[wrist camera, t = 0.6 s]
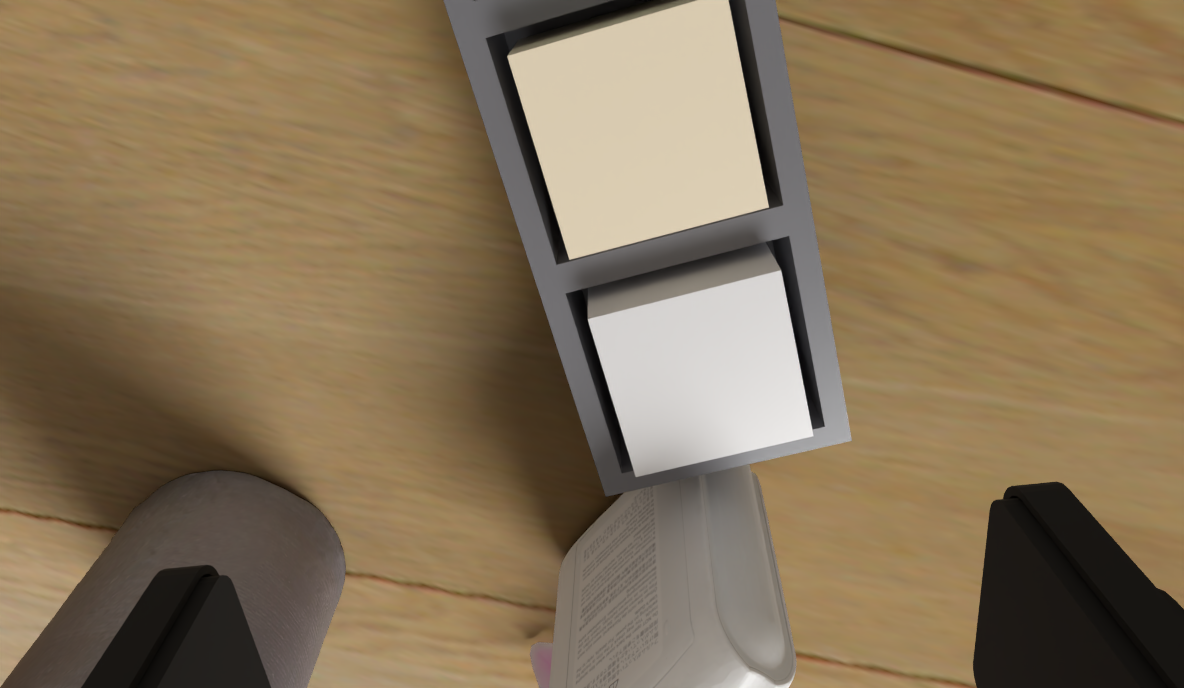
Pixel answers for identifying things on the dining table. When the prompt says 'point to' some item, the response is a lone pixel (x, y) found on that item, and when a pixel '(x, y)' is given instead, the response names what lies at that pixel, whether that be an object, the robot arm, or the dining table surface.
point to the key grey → (700, 359)
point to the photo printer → (675, 592)
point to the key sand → (640, 122)
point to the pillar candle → (205, 537)
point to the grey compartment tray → (541, 3)
